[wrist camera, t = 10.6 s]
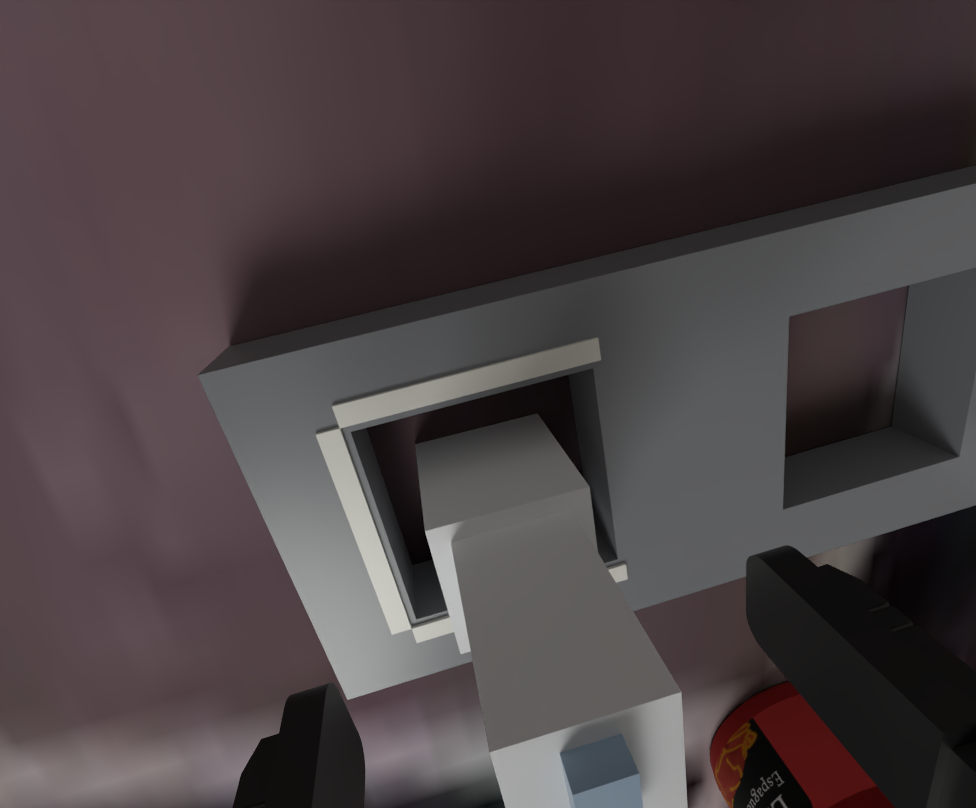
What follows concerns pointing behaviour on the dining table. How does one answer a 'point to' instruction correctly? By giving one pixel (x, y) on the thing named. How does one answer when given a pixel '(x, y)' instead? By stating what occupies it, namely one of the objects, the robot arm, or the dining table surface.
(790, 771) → the canned food
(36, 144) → the dining table surface
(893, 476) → the panel
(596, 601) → the plug
